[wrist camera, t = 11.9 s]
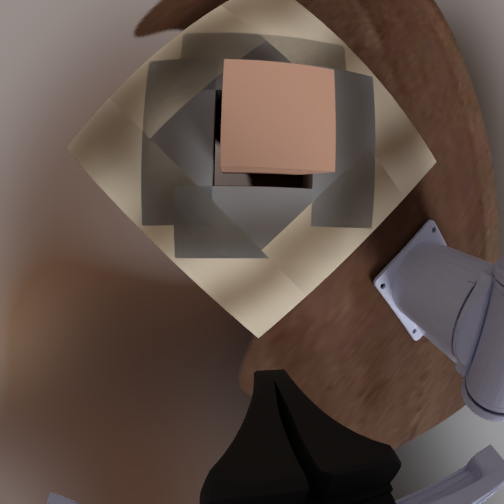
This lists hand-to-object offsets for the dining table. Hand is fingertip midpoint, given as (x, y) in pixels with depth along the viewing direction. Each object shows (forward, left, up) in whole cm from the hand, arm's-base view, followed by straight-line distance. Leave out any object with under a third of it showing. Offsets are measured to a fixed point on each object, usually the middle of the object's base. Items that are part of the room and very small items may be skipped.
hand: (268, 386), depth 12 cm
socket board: (+8, -9, -10) cm, 15 cm away
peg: (+8, -9, -10) cm, 16 cm away
